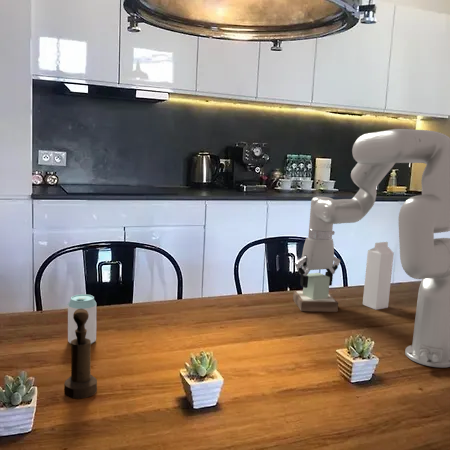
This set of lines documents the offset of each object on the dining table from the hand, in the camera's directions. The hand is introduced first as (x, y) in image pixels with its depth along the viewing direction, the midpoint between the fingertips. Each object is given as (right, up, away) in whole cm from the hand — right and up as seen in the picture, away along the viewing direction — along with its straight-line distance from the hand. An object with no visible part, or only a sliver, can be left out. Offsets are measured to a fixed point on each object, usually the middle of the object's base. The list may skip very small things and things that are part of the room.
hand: (316, 285), depth 176 cm
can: (-67, -10, -38) cm, 78 cm away
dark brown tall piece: (-60, -15, -64) cm, 90 cm away
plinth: (0, -7, +1) cm, 7 cm away
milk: (+21, -8, +4) cm, 22 cm away
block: (0, -4, +1) cm, 4 cm away
